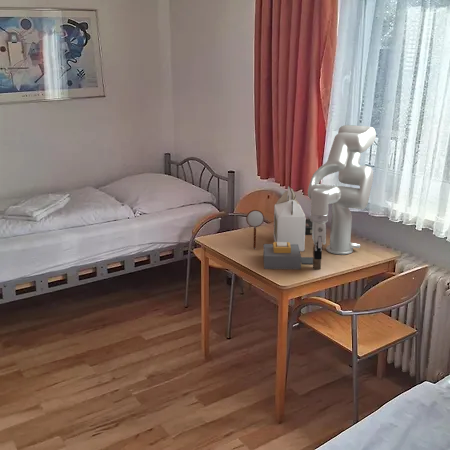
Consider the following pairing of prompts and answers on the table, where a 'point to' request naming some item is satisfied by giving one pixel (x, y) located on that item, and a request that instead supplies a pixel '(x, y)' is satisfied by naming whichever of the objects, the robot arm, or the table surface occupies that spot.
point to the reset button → (281, 244)
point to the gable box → (289, 220)
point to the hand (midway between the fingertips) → (317, 256)
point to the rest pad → (307, 260)
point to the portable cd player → (308, 227)
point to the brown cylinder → (316, 261)
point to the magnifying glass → (255, 221)
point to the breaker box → (281, 256)
